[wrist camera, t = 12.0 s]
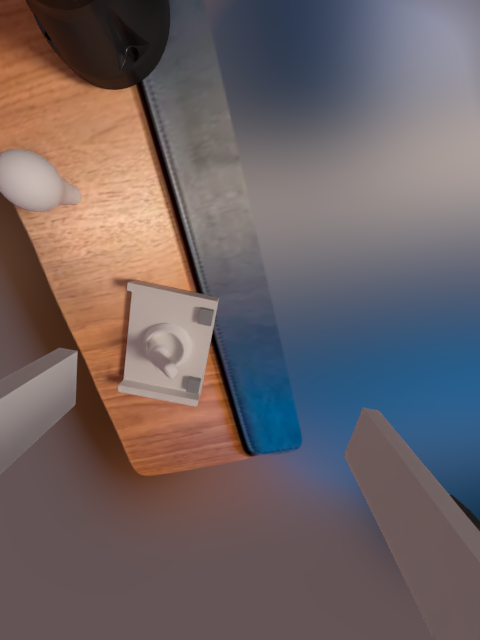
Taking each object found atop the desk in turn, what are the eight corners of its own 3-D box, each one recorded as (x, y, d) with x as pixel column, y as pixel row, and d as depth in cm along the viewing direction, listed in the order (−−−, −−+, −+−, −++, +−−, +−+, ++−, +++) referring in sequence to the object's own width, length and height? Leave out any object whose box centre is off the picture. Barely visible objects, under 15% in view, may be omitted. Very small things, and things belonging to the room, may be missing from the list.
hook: (225, 364, 35) (187, 401, 33) (189, 346, 45) (157, 374, 42) (197, 323, 32) (152, 360, 29) (165, 313, 42) (129, 341, 39)
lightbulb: (99, 221, 36) (40, 209, 26) (57, 217, 36) (-20, 204, 26) (96, 174, 35) (31, 141, 24) (52, 170, 35) (-32, 135, 24)
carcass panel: (136, 279, 39) (127, 282, 36) (219, 297, 39) (217, 301, 36) (126, 381, 44) (117, 391, 41) (200, 396, 44) (197, 406, 41)
